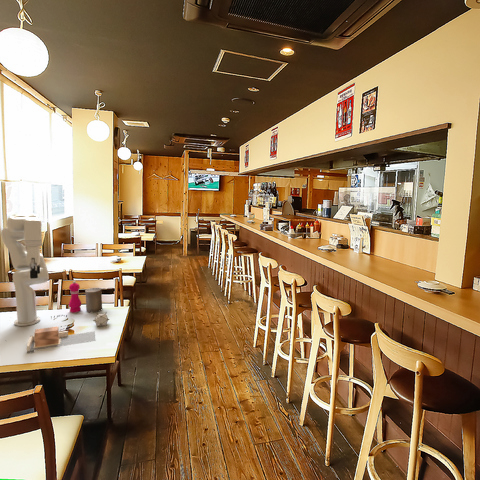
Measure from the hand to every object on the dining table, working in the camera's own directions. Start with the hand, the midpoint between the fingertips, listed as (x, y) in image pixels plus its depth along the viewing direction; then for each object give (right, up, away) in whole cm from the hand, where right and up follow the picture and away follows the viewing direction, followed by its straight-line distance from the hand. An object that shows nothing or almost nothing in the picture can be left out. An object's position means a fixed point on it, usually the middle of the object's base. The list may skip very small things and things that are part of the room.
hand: (35, 275), depth 167 cm
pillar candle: (+10, -28, +46) cm, 54 cm away
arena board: (+15, -34, -1) cm, 37 cm away
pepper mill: (-1, -28, +42) cm, 51 cm away
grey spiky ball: (+26, -32, +20) cm, 46 cm away
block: (+9, -33, -4) cm, 35 cm away
